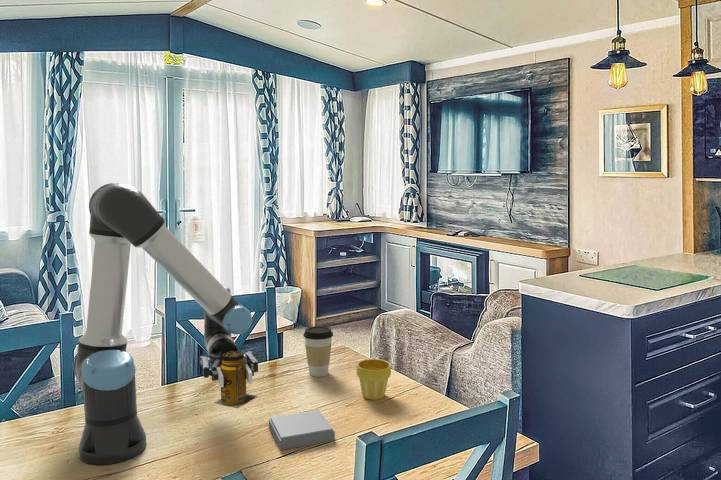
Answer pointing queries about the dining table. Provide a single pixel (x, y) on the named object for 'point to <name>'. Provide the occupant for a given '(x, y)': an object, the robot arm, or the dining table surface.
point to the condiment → (234, 381)
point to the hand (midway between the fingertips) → (236, 380)
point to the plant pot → (373, 377)
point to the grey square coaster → (300, 429)
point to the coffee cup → (318, 349)
